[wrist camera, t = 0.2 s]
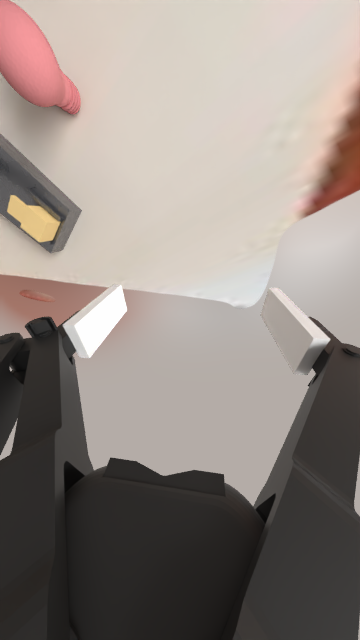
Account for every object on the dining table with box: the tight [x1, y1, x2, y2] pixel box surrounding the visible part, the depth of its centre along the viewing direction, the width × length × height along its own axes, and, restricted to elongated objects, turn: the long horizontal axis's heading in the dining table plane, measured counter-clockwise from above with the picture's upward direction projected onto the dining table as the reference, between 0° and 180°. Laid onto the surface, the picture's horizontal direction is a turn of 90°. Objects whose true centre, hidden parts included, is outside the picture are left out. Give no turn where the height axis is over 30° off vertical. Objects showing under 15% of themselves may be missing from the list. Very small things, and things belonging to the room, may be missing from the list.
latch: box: [7, 195, 60, 242], centre depth 33 cm, size 7×5×4 cm
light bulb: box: [0, 0, 80, 114], centre depth 22 cm, size 7×7×12 cm
